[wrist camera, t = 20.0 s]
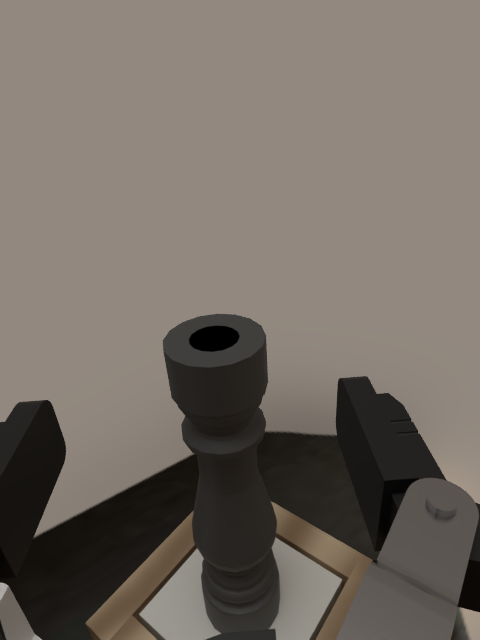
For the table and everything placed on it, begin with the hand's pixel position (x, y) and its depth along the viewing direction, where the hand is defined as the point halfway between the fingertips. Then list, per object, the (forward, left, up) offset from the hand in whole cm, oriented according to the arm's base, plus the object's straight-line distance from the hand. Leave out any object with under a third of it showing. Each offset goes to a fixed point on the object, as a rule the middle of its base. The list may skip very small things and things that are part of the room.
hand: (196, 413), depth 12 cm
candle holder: (-7, +8, -29) cm, 31 cm away
